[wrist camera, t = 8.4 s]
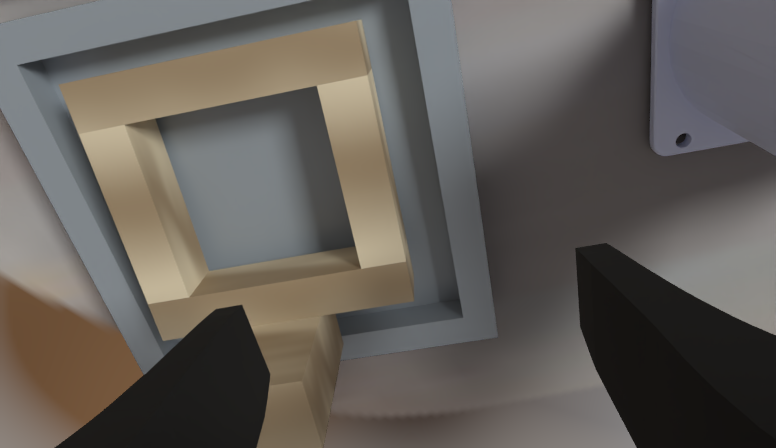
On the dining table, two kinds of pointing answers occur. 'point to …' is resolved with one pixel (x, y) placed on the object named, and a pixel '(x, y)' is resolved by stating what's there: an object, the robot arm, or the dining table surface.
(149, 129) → the tan frame with tab
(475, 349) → the dining table surface
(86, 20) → the slate tray
